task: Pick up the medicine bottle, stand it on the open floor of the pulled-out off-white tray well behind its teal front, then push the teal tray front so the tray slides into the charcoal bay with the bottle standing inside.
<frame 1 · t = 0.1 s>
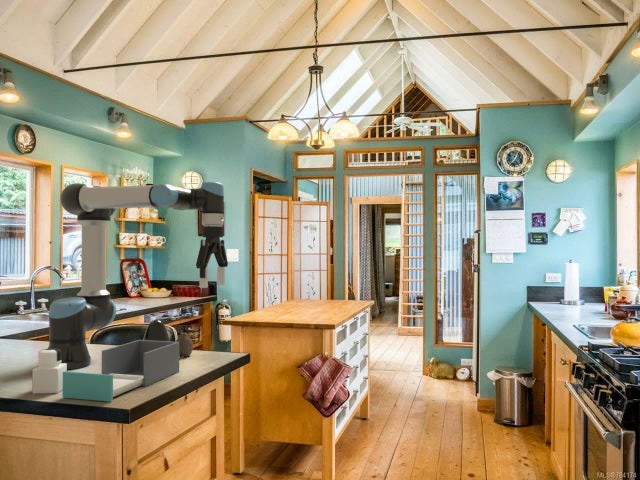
hand: (212, 286, 192), 28 cm above the table, fingers open, 13 cm apart
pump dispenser: (156, 361, 200), on the table
vase: (183, 356, 209), on the table
tray: (109, 378, 159), point 4 cm above the table, slide at 15.5 cm
bay: (141, 377, 175), on the table
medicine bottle: (49, 391, 159), on the table
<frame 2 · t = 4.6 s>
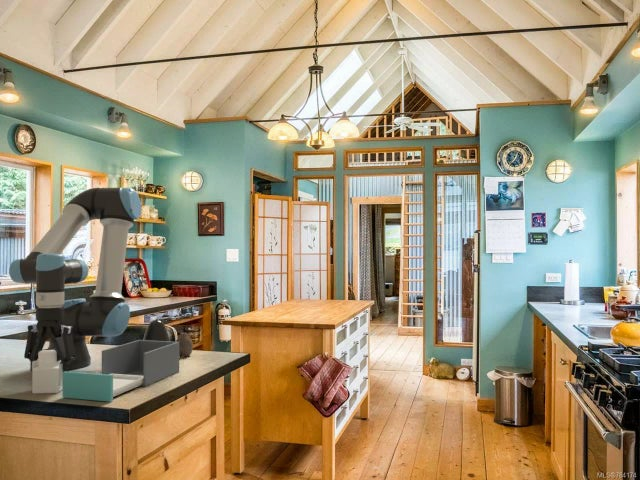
hand: (49, 383, 159), 2 cm above the table, fingers closed on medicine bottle, 8 cm apart
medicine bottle: (49, 391, 159), on the table, touching gripper
everything else where it was.
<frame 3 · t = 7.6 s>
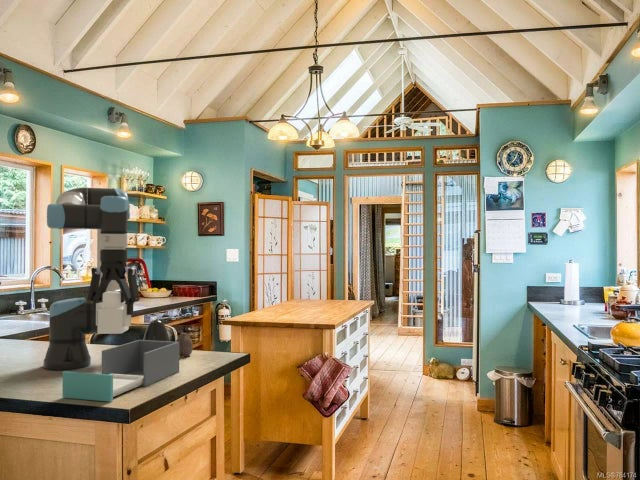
hand: (113, 325, 161), 19 cm above the table, fingers closed on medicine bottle, 8 cm apart
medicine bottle: (113, 332, 161), point 17 cm above the table, touching gripper
everything else where it was.
when the fingers open (4 cm above the table, at t = 10.6 s): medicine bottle stays where it is, resting on tray.
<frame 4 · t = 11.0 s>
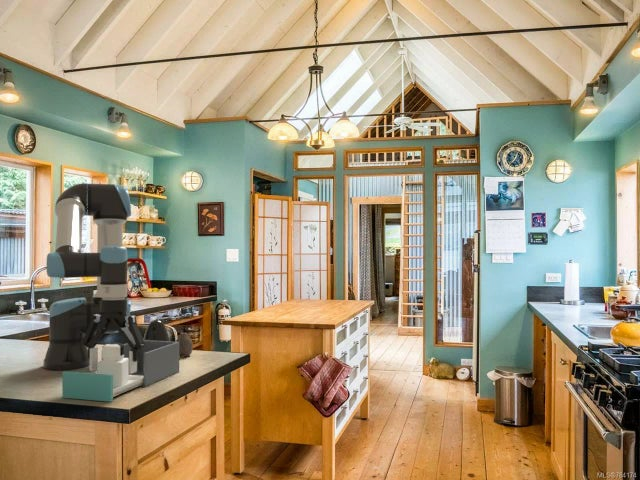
hand: (113, 371, 161), 5 cm above the table, fingers open, 13 cm apart
tray: (109, 378, 159), point 4 cm above the table, slide at 15.5 cm, touching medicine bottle
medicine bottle: (112, 385, 160), point 1 cm above the table, touching tray
everything else where it was.
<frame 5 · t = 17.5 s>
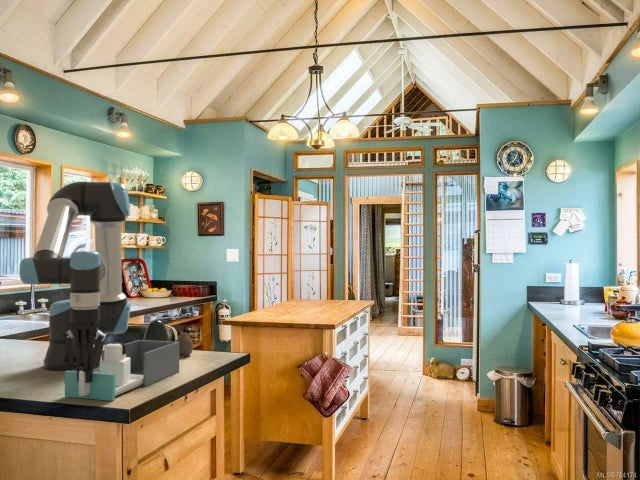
hand: (84, 394, 149), 2 cm above the table, fingers closed
tray: (111, 377, 160), point 4 cm above the table, slide at 14.6 cm, touching gripper, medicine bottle
everything else where it was.
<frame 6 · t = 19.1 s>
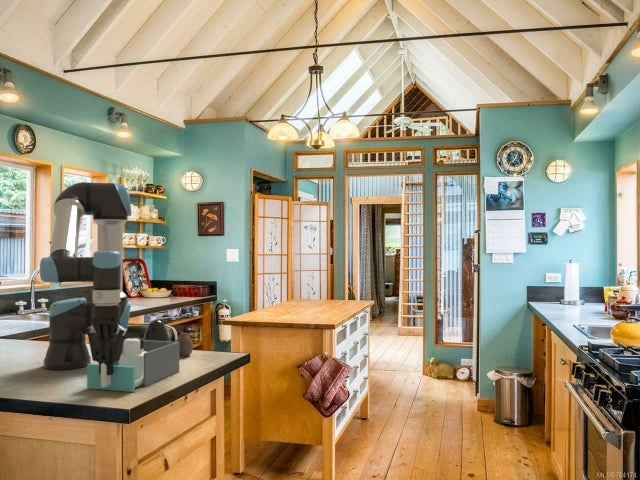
hand: (106, 385, 158), 2 cm above the table, fingers closed
tray: (129, 370, 169), point 4 cm above the table, slide at 5.3 cm, touching gripper, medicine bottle
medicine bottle: (133, 377, 170), point 1 cm above the table, touching tray
everything else where it was.
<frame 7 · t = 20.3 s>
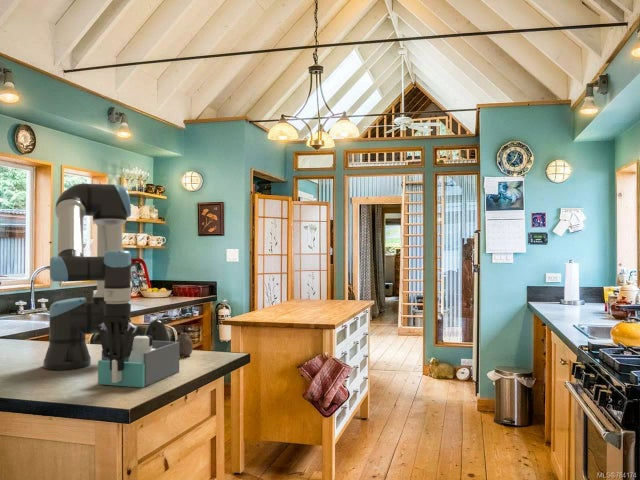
hand: (116, 381, 162), 2 cm above the table, fingers closed
tray: (139, 366, 173), point 4 cm above the table, slide at 0.4 cm, touching gripper, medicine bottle
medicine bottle: (142, 373, 175), point 1 cm above the table, touching tray
everything else where it was.
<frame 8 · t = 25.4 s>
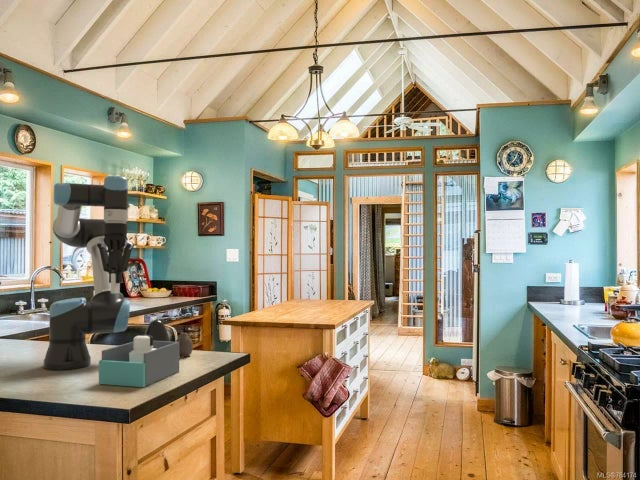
hand: (115, 293, 182), 26 cm above the table, fingers closed
tray: (139, 366, 174), point 4 cm above the table, slide at 0.0 cm, touching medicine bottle
everything else where it was.
at the end: tray slide at 0.0 cm; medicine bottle inside the target area on the bay (0.5 cm from its centre), point 1.2 cm above the bay's base; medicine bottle tilted 0° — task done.
